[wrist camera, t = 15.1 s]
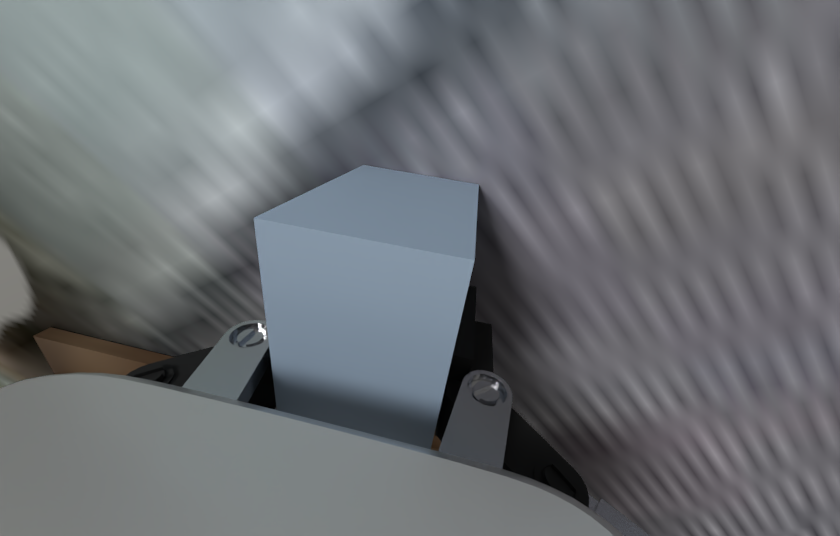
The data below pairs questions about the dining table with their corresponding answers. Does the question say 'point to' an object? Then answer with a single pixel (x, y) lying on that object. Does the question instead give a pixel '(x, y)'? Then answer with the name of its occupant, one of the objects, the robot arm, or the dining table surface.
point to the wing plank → (367, 298)
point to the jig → (101, 356)
